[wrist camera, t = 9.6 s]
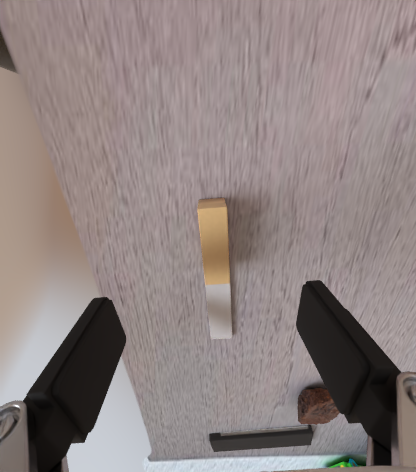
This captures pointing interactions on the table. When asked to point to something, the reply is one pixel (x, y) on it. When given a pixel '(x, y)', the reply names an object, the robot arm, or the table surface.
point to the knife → (216, 265)
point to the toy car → (346, 464)
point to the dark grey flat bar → (261, 438)
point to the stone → (316, 407)
